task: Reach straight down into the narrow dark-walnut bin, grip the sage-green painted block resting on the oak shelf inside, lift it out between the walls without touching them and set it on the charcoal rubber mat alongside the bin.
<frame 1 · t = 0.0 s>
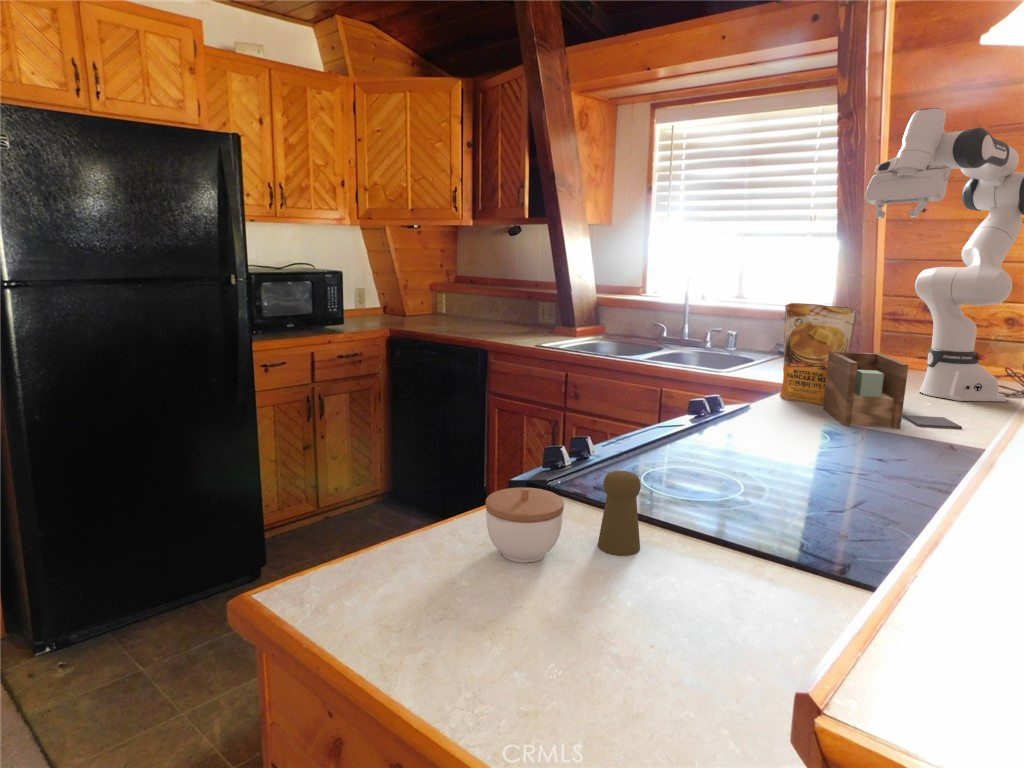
hand: (896, 217, 182), 52 cm above the worktop, tool tilted 20°, fingers open, 8 cm apart
mat: (931, 422, 174), on the worktop
cork: (618, 547, 97), on the worktop
bin: (859, 418, 177), on the worktop
lidded jar: (523, 554, 94), on the worktop
pancake mix bag: (808, 401, 197), on the worktop
block: (867, 394, 172), point 7 cm above the worktop, touching bin
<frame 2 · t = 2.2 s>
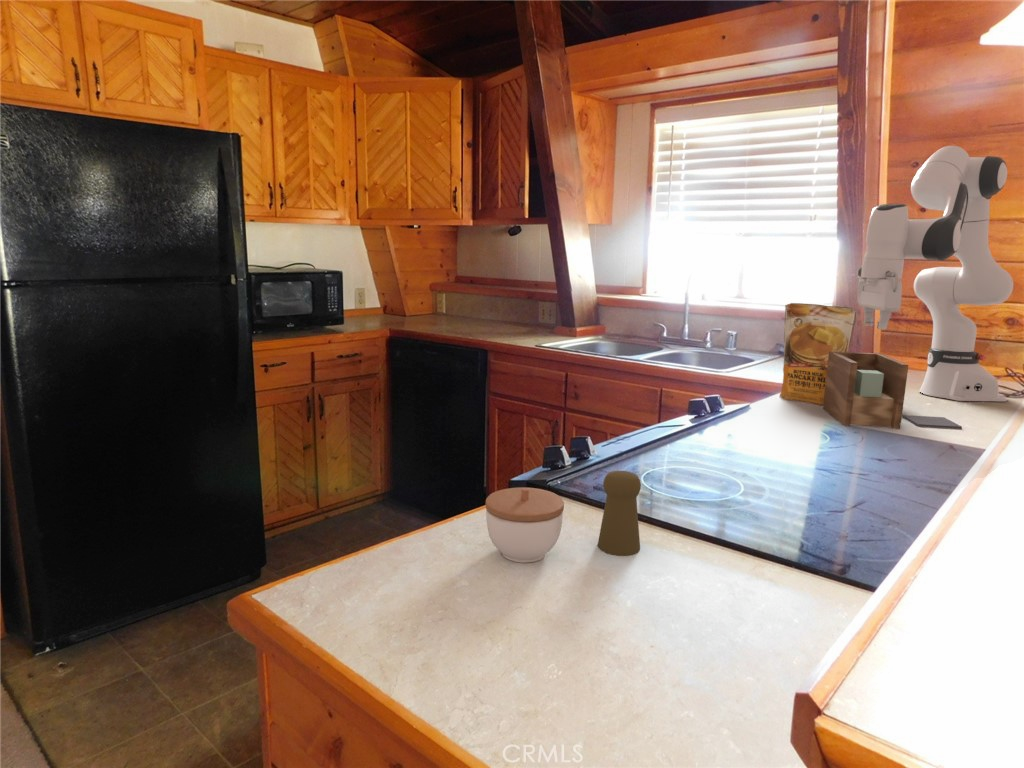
hand: (875, 327, 169), 24 cm above the worktop, tool pointing down, fingers open, 8 cm apart
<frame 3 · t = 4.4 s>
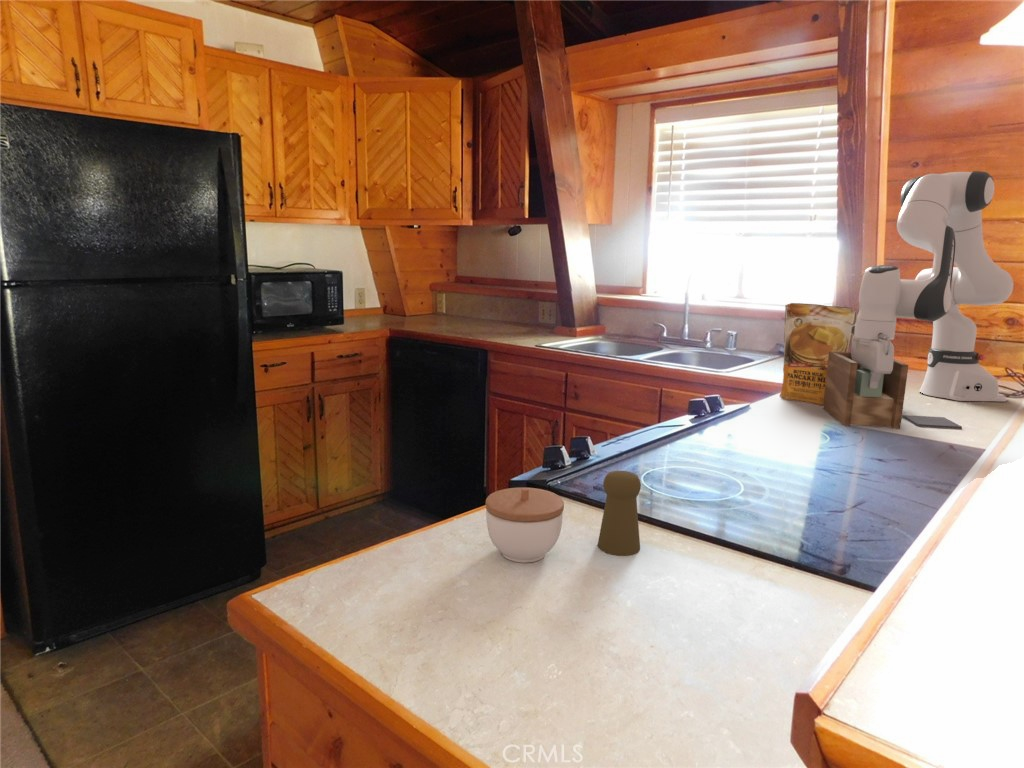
hand: (868, 385, 172), 9 cm above the worktop, tool pointing down, fingers closed on block, 5 cm apart
block: (867, 394, 172), point 7 cm above the worktop, touching bin, gripper
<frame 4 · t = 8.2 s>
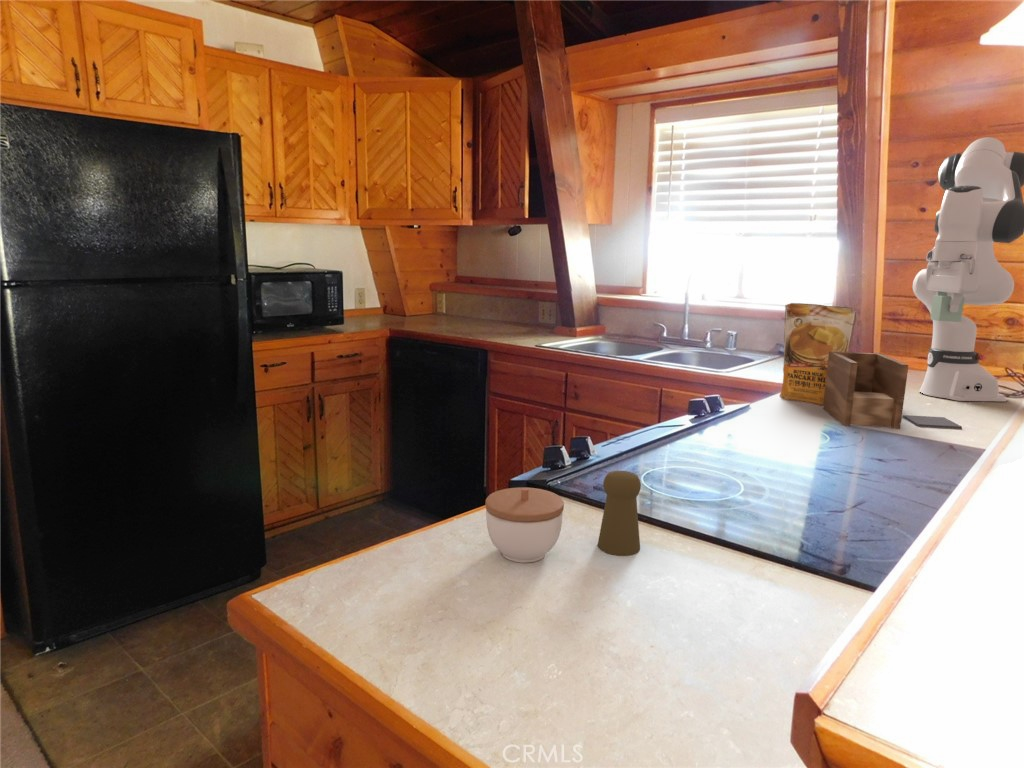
hand: (946, 310, 168), 29 cm above the worktop, tool pointing down, fingers closed on block, 5 cm apart
block: (945, 320, 169), point 26 cm above the worktop, touching gripper
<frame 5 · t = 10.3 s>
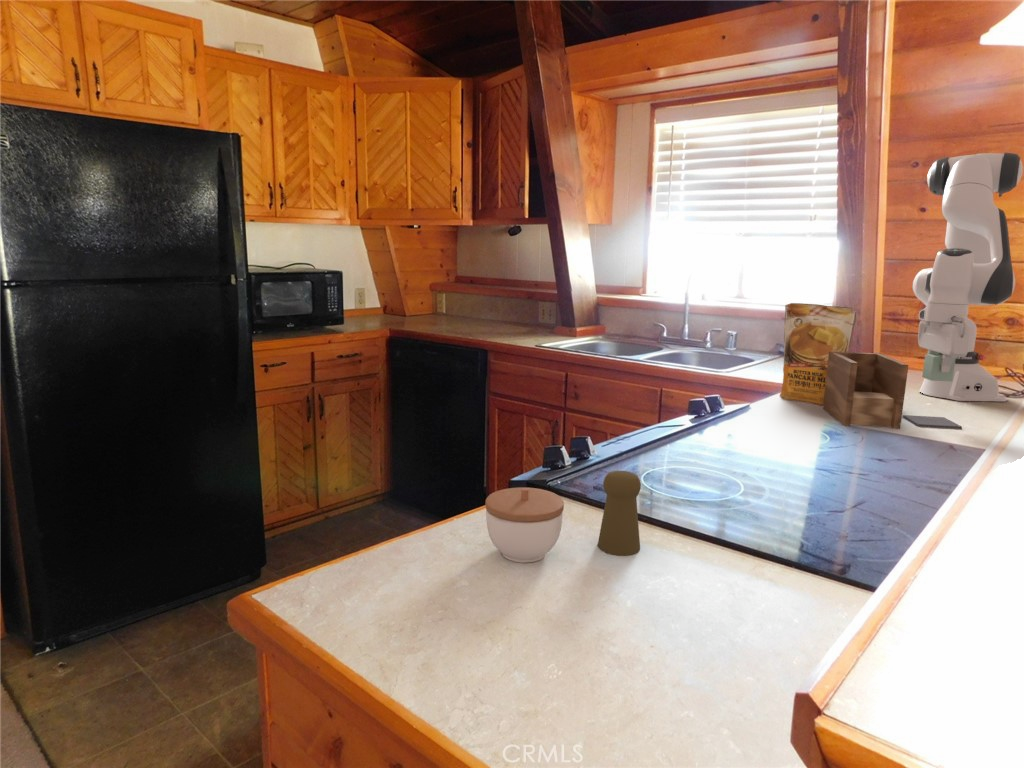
hand: (938, 370, 171), 14 cm above the worktop, tool pointing down, fingers closed on block, 5 cm apart
block: (936, 379, 171), point 11 cm above the worktop, touching gripper
when the fingers open (5 cm above the worktop, at t = 12.2 s): block drops 2 cm, resting on mat.
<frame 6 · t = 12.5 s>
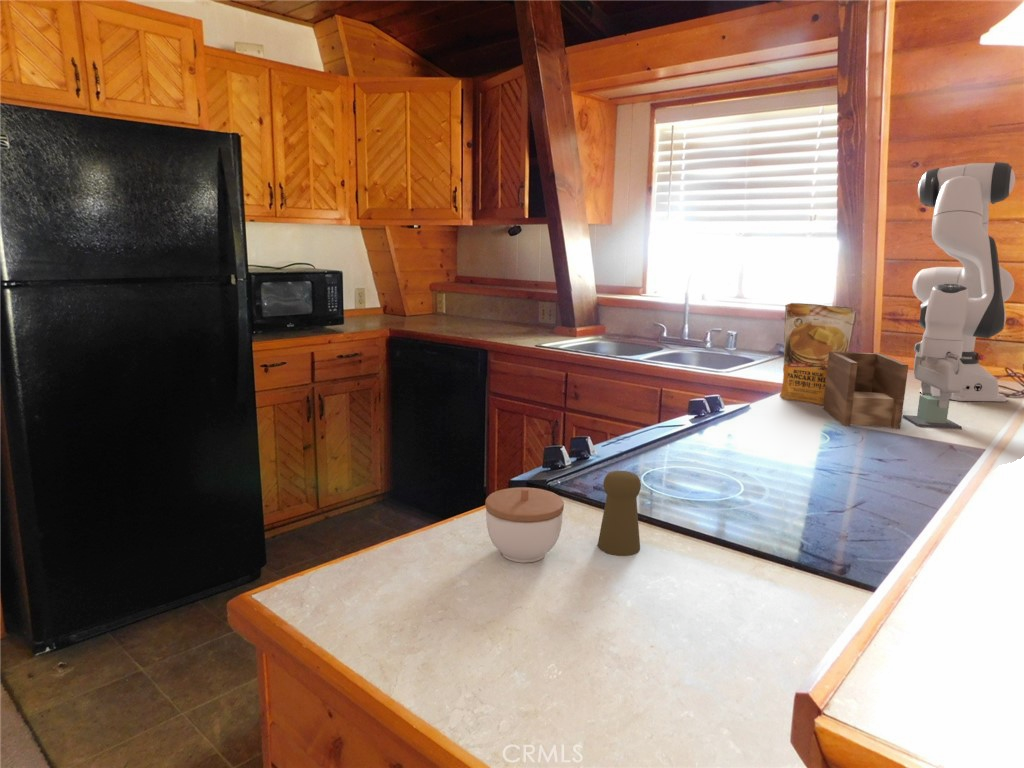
hand: (933, 403, 173), 5 cm above the worktop, tool pointing down, fingers open, 8 cm apart
block: (931, 420, 174), point 1 cm above the worktop, touching mat
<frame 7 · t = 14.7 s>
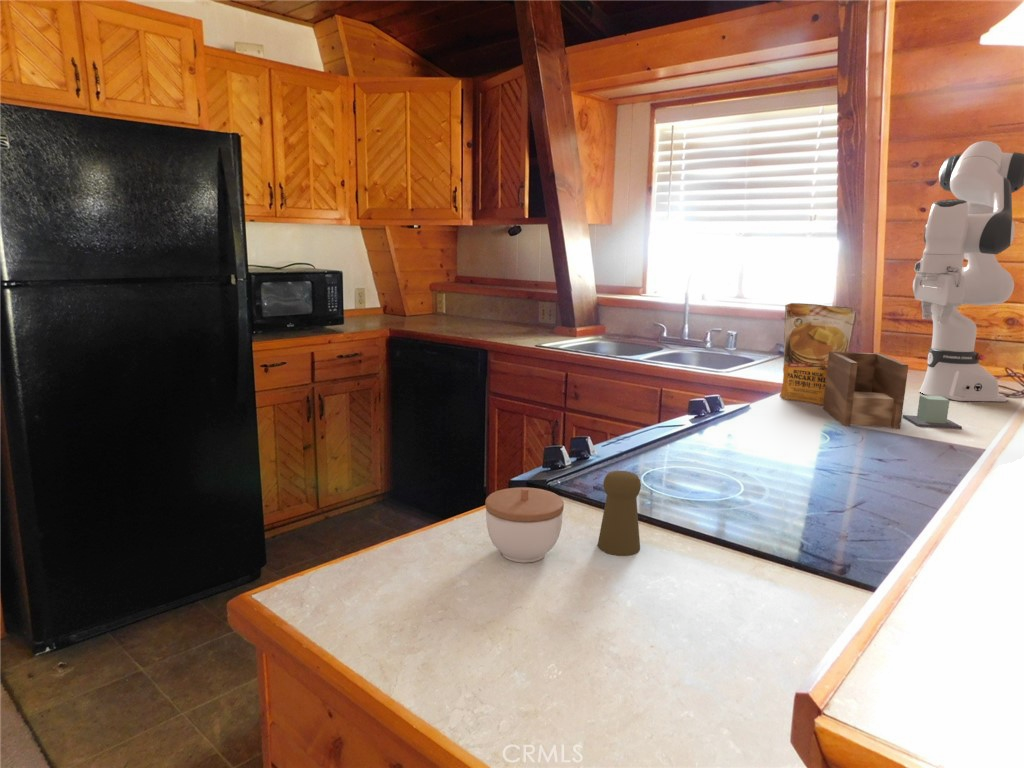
hand: (934, 321, 173), 26 cm above the worktop, tool pointing down, fingers open, 8 cm apart
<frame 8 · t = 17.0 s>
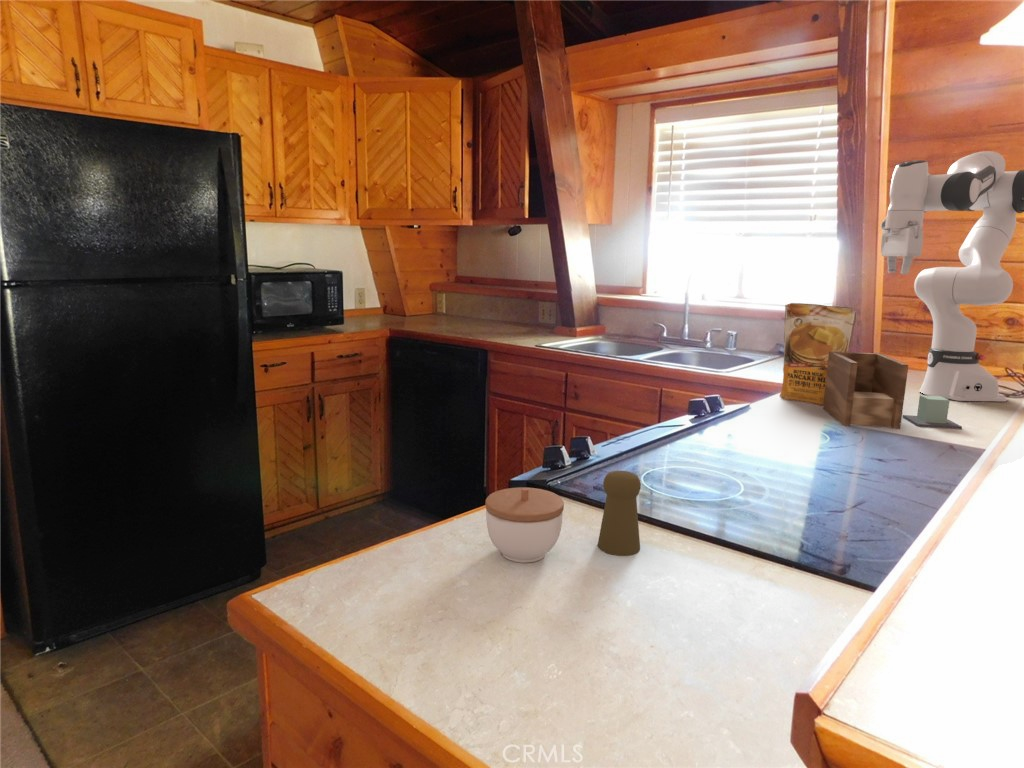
hand: (897, 273, 188), 37 cm above the worktop, tool pointing down, fingers open, 8 cm apart
at the end: block inside the target area on the mat (0.1 cm from its centre), point 0.6 cm above the mat's base; block tilted 0°; the gripper is holding nothing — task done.
